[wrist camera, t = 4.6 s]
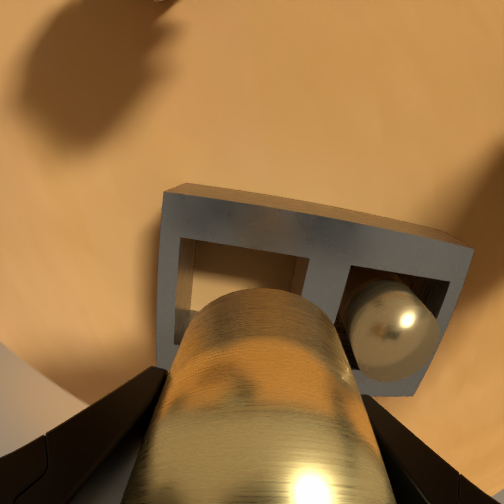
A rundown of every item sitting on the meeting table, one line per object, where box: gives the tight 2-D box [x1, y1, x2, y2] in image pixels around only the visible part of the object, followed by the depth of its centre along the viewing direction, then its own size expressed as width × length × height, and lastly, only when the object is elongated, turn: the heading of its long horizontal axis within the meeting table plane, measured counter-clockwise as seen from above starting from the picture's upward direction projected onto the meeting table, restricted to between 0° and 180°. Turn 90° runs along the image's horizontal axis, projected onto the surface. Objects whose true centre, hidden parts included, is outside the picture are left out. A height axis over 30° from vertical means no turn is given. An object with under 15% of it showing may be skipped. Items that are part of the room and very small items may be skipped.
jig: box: [156, 183, 475, 397], centre depth 17 cm, size 16×10×4 cm, turn 81°
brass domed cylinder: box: [120, 288, 396, 504], centre depth 5 cm, size 4×4×6 cm
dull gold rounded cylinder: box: [338, 266, 439, 382], centre depth 16 cm, size 4×4×6 cm
